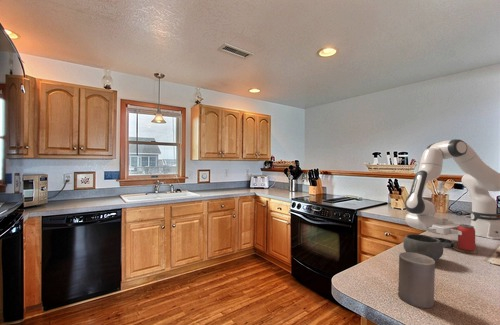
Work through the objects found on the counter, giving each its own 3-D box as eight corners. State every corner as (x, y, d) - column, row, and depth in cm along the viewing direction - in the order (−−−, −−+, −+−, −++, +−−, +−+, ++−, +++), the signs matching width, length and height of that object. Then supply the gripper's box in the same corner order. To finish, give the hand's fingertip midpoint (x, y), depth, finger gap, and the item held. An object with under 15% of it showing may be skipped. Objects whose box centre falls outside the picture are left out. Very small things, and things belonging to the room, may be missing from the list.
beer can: (471, 247, 124) (471, 224, 124) (478, 252, 118) (478, 227, 118) (455, 246, 127) (455, 223, 127) (461, 250, 120) (461, 226, 121)
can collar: (447, 242, 135) (447, 238, 135) (457, 248, 125) (457, 243, 125) (427, 241, 137) (427, 236, 137) (435, 246, 128) (435, 242, 128)
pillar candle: (391, 291, 83) (392, 248, 82) (418, 291, 83) (419, 247, 83) (412, 309, 73) (413, 260, 73) (442, 308, 73) (443, 259, 73)
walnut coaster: (470, 248, 126) (470, 246, 126) (481, 254, 118) (481, 252, 118) (449, 246, 129) (449, 244, 129) (459, 252, 120) (459, 250, 120)
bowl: (432, 269, 101) (432, 245, 101) (396, 256, 114) (396, 235, 114) (449, 262, 107) (450, 240, 107) (414, 251, 121) (414, 231, 121)
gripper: (425, 221, 131) (456, 228, 118) (446, 218, 139) (477, 224, 127) (425, 233, 131) (456, 241, 118) (446, 229, 139) (477, 236, 127)
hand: (467, 232), depth 122 cm, fingers open, 8 cm apart
